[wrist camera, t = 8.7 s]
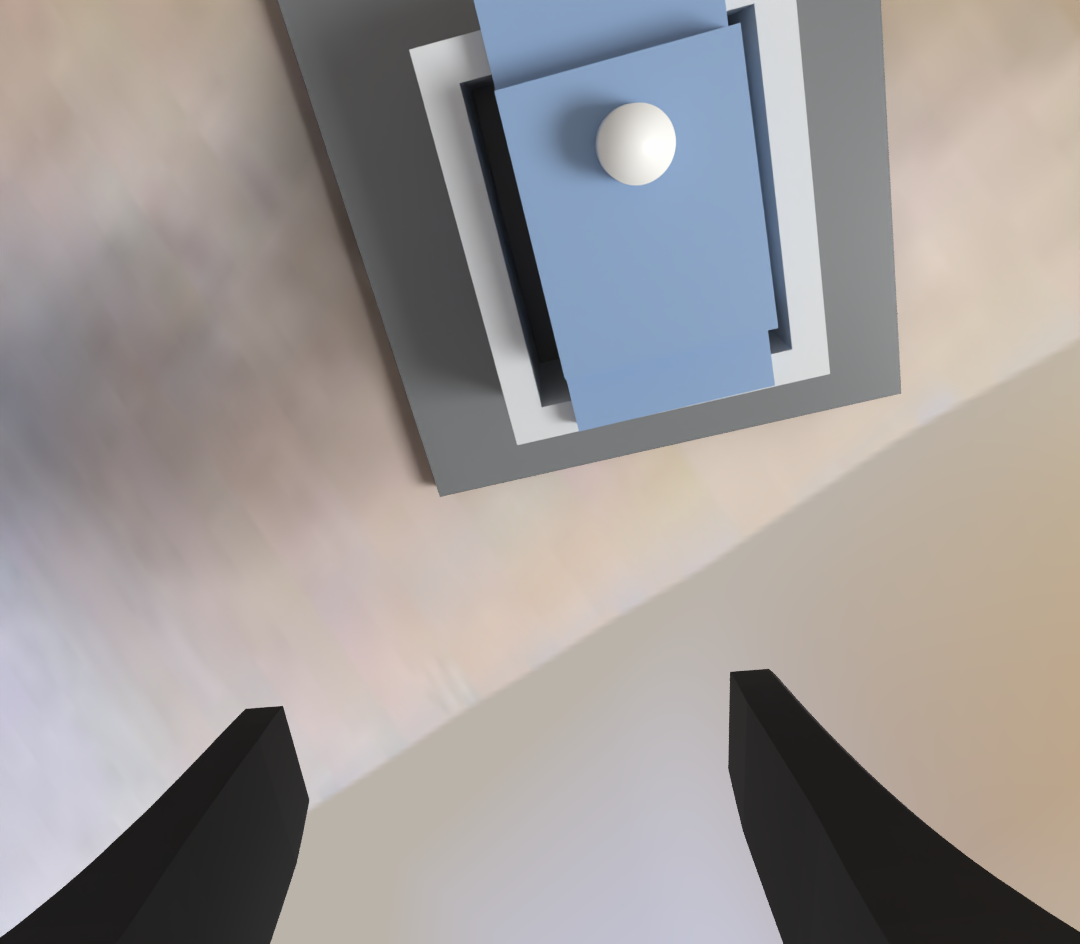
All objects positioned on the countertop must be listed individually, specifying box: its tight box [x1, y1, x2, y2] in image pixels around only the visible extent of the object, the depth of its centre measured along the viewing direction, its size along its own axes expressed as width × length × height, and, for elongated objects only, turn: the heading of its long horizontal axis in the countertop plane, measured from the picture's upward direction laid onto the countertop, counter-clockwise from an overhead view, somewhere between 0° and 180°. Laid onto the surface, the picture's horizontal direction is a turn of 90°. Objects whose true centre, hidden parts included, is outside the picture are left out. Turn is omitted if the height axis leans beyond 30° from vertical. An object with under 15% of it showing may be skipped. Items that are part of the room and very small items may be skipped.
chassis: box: [278, 0, 901, 497], centre depth 17 cm, size 12×12×4 cm
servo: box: [474, 0, 778, 431], centre depth 15 cm, size 4×8×5 cm, turn 14°
